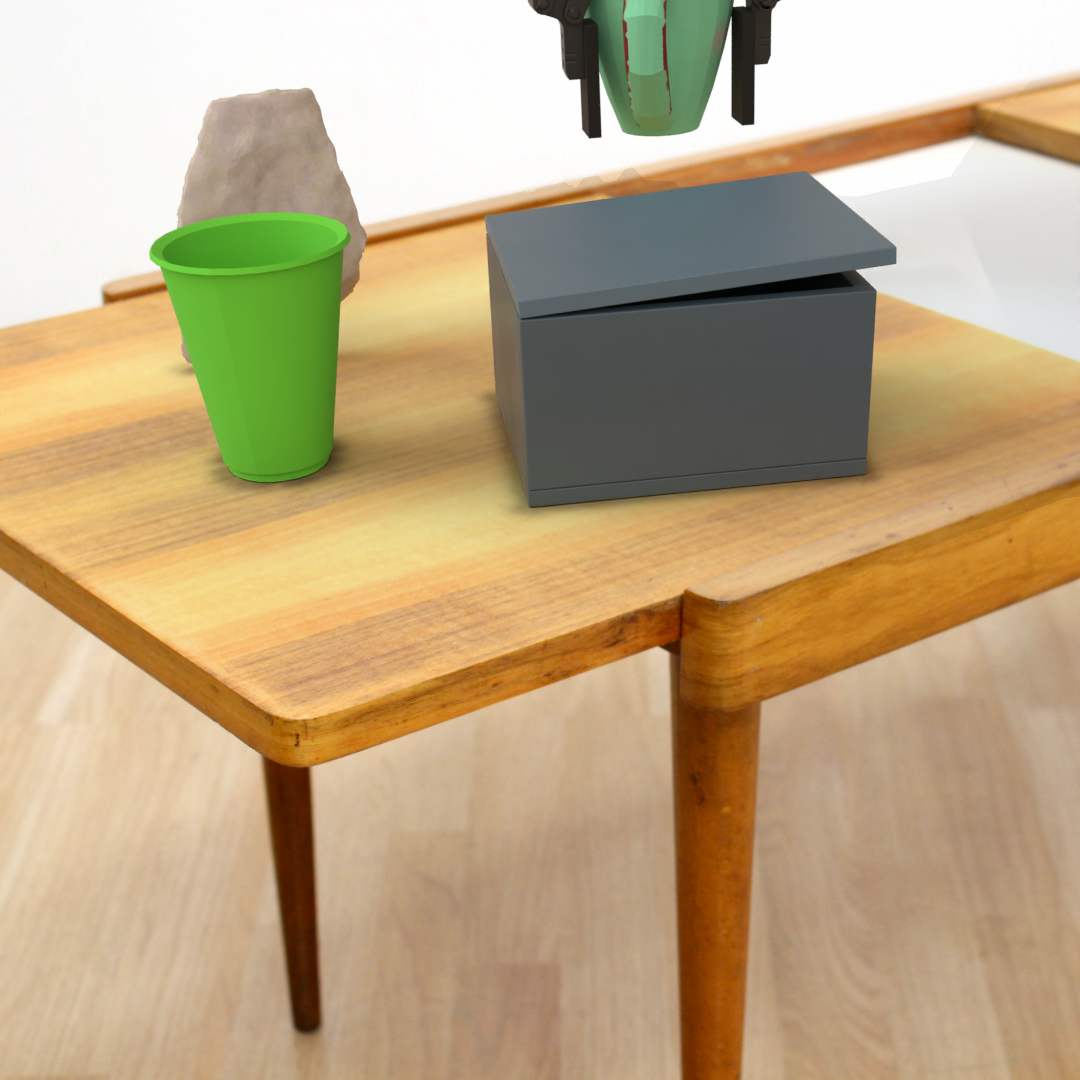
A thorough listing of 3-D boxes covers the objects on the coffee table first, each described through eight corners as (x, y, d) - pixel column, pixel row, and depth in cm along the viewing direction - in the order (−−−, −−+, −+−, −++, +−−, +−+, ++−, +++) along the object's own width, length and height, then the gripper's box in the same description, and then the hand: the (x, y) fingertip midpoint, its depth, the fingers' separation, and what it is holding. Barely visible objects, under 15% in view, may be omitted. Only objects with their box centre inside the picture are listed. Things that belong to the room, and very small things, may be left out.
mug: (589, 114, 102) (582, -48, 97) (740, 109, 100) (740, -56, 96) (564, 167, 89) (554, -17, 84) (737, 162, 87) (736, -26, 83)
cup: (396, 428, 78) (376, 213, 73) (335, 507, 70) (308, 272, 65) (230, 419, 80) (199, 209, 75) (152, 495, 72) (112, 266, 67)
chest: (784, 369, 83) (790, 207, 79) (866, 474, 71) (877, 289, 67) (495, 396, 81) (485, 231, 77) (529, 507, 69) (519, 320, 65)
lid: (806, 185, 79) (805, 170, 78) (897, 264, 66) (897, 246, 66) (486, 231, 77) (484, 215, 77) (520, 319, 65) (518, 301, 65)
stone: (181, 373, 86) (137, 99, 79) (195, 352, 89) (154, 86, 82) (373, 368, 86) (346, 91, 79) (381, 347, 89) (356, 79, 82)
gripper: (831, -303, 89) (820, 101, 99) (458, -281, 86) (486, 129, 97) (874, -309, 82) (857, 124, 92) (470, -286, 80) (499, 155, 90)
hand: (667, 126), depth 94 cm, fingers closed on mug, 9 cm apart
